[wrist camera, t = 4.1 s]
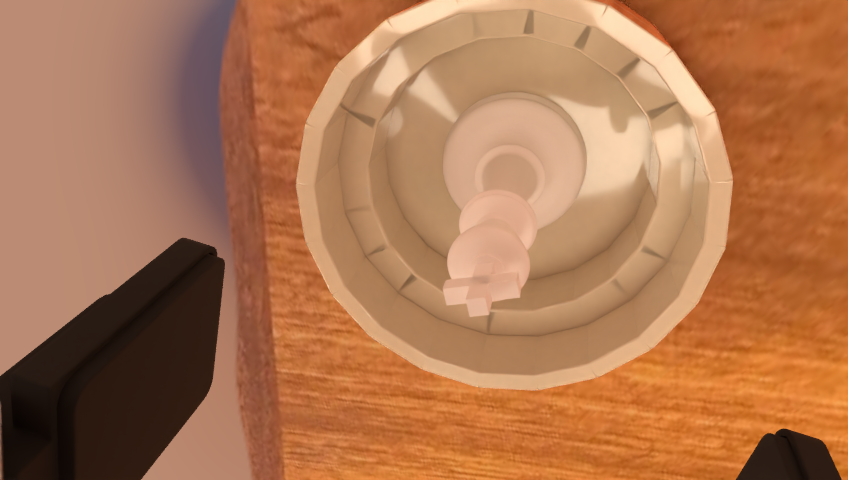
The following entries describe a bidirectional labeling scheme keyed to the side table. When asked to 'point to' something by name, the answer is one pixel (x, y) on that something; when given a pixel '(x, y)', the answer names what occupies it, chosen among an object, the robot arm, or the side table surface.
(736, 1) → the side table surface
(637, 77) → the bowl
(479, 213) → the chess piece
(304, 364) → the side table surface
